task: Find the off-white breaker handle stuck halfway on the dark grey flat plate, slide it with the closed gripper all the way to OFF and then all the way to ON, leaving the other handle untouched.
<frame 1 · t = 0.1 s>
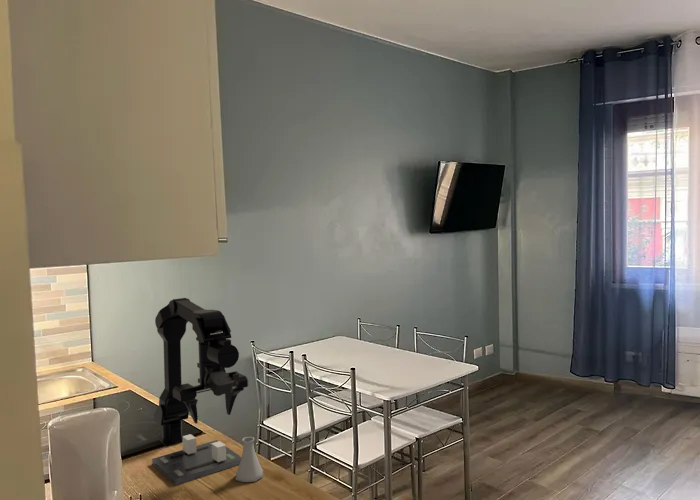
hand: (212, 418, 149), 15 cm above the counter, tool pointing down, fingers open, 9 cm apart
dark grey flat plate: (197, 463, 156), on the counter
flask: (249, 477, 148), on the counter
tripped breaker: (189, 444, 159), point 4 cm above the counter, slide at 4.0 cm
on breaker: (218, 451, 154), point 4 cm above the counter, slide at 8.0 cm
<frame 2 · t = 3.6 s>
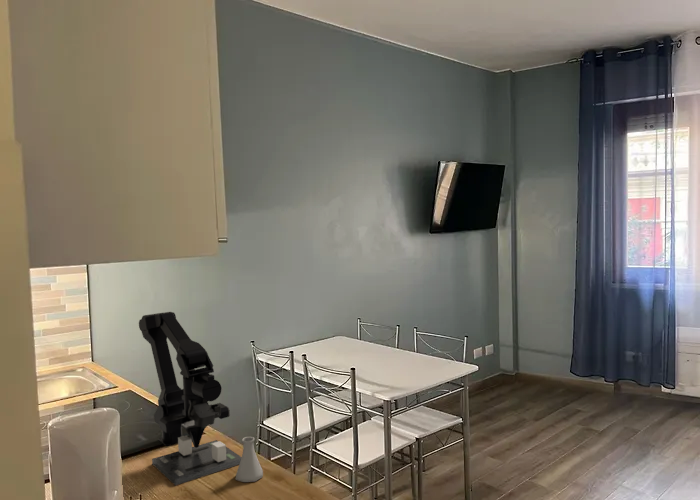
hand: (196, 447, 161), 2 cm above the counter, tool pointing down, fingers closed
tripped breaker: (185, 445, 158), point 4 cm above the counter, slide at 2.7 cm, touching gripper
everything else where it was.
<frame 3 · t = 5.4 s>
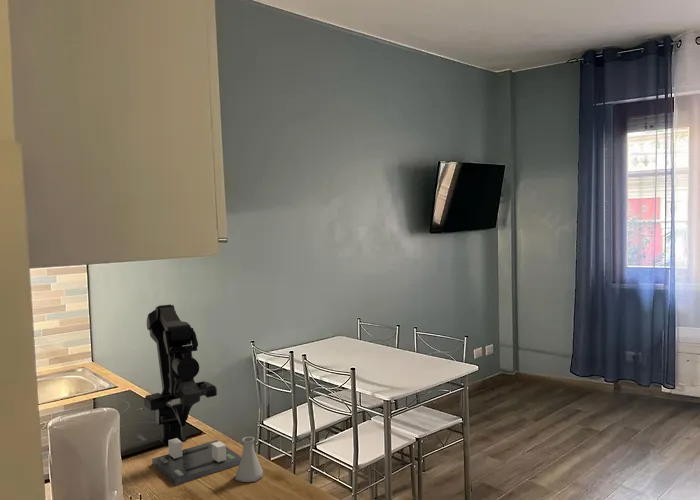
hand: (182, 426, 158), 10 cm above the counter, tool pointing down, fingers closed
tripped breaker: (175, 448, 157), point 4 cm above the counter, slide at -0.1 cm
everything else where it was.
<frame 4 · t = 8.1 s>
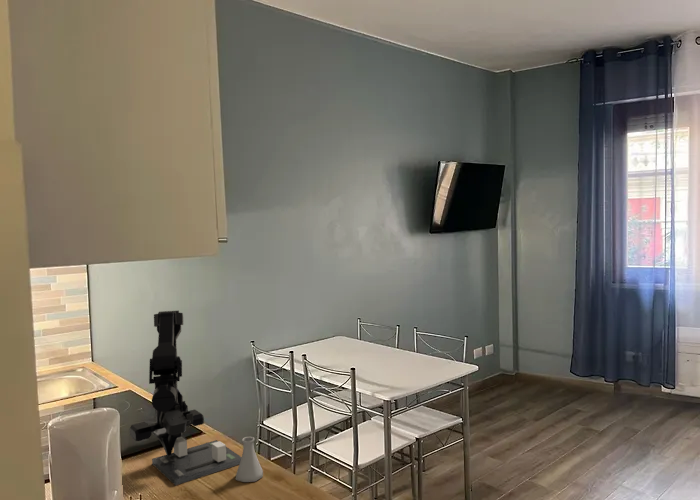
hand: (168, 455, 156), 2 cm above the counter, tool pointing down, fingers closed
tripped breaker: (180, 446, 158), point 4 cm above the counter, slide at 1.4 cm, touching gripper
everything else where it was.
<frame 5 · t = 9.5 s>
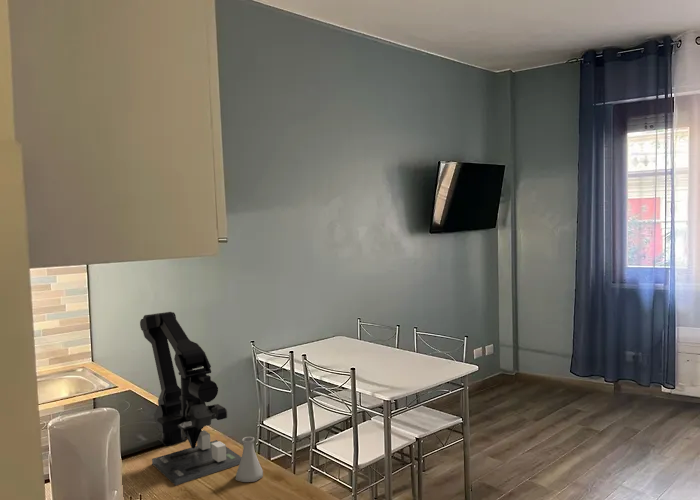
hand: (193, 447, 160), 2 cm above the counter, tool pointing down, fingers closed
tripped breaker: (203, 440, 162), point 4 cm above the counter, slide at 8.2 cm, touching gripper
everything else where it was.
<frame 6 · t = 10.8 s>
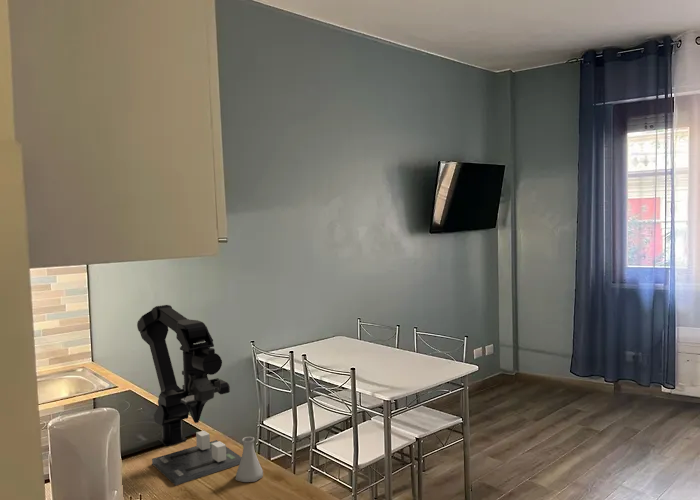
hand: (196, 422, 160), 10 cm above the counter, tool pointing down, fingers closed
tripped breaker: (203, 440, 162), point 4 cm above the counter, slide at 8.1 cm
everything else where it was.
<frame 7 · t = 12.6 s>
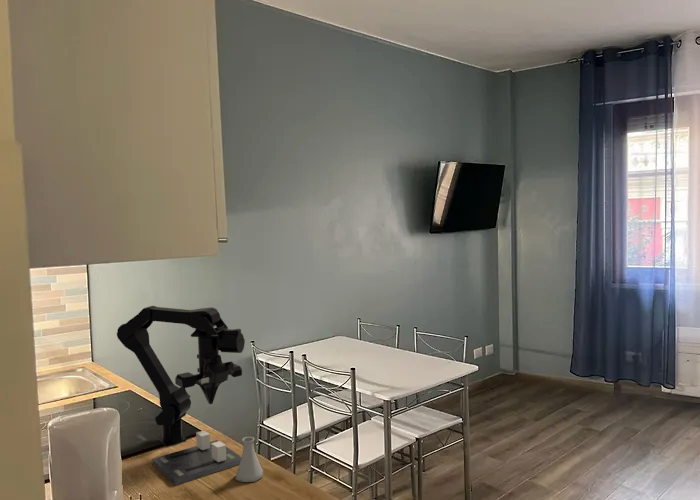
hand: (210, 403, 168), 12 cm above the counter, tool pointing down, fingers closed
nothing on the counter moved.
at the end: tripped breaker slide at 8.1 cm; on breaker slide at 8.0 cm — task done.
